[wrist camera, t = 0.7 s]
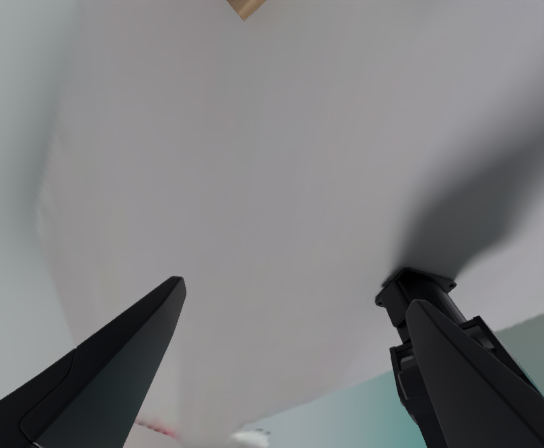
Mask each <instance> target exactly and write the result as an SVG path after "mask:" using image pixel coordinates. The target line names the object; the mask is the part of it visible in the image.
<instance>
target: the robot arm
mask: <svg viewBox="0 0 544 448" xmlns="http://www.w3.org/2000/svg"><path fill="white" fill-rule="evenodd" d="M456 285H457V284H456V283H455V282H454V281H453V280H450V279H447V278H443V277H440V276H436V275H432V274H429V273H425V272H422V271H418V270H415V269H411V268H404V269H402V270H401V272H400V273H399V274H398V275H397V276H396V277H395V278H394V279H393V281H392V282H391V283H390V284H389V285H388V286H387V287H386V288H385V290H384V291H383V292H382V293H381V294H380V295H379V296H378V297H377V299H376V300H375V303H376V305H377V306H380V307H384V308H386V310H387V312H388V315H389V317H390V319H391V322H392V324H393V326H394V327H396V328H397V331H398V333H399V335H400V338H401V340H402V343H403V344H402V345H400V346H397V347H395V346H394V347H391V348H390V354H391V361H392V366H393V371H394V376H395V381H396V386H397V391H398V395H399V397H400V401H401V403H402V405H403V406H404V407H405V408H406V410H407V411H408V413H409V415H410V416H411V418H412V419H413V420H414V422H415V423H416V424H417V425H418V426H419V428H420V431H421V433H422V435H423V438H424V440H425V443H426V446H427V448H544V395H543V394H542V392H541V391H540V390H539V388H538V387H537V386H536V384H535V383H534V382H533V380H532V379H531V378H530V376H529V375H528V374H527V372H526V371H525V370H524V369H523V367H522V366H521V364H520V363H519V362H518V361H517V359H516V358H515V357H514V356H513V354H512V353H511V352H510V351H509V349H508V348H507V347H506V346H505V345H504V343H503V342H502V341H501V340H500V338H499V337H498V336H497V335H496V334H495V333H494V332H493V330H492V329H491V328H490V327H489V326H488V325H487V324H486V322H485V321H484V320H483V319H482V318H481V317H480V316H476V317H473V319H471V320H469V321H467V320H466V319H465V317H464V316H463V315H462V313H461V312H460V310H459V309H458V308H457V306H456V305H455V304H454V302H453V301H452V299H451V298H450V297H449V295H448V293H449V292H450V291H451V290H452V289H454V288H455V287H456ZM185 297H186V287H185V282H184V279H183V277H179V276H172V277H170V278H169V279H167V280H166V281H165V282H163V283H162V284H161V285H159V286H158V287H156V288H155V289H154V290H152V291H151V292H150V293H148V294H147V295H146V296H144V297H143V298H142V299H140V300H139V301H138V302H136V303H135V304H134V305H132V306H131V307H130V308H128V309H127V310H125V311H124V312H123V313H121V314H120V315H119V316H117V317H116V318H115V319H113V320H112V321H111V322H109V323H108V324H107V325H105V326H104V327H103V328H101V329H100V330H99V331H97V332H96V333H94V334H93V335H92V336H90V337H89V338H88V339H86V340H85V341H84V342H82V343H81V344H80V345H78V346H77V348H76V349H73V350H71V351H70V352H69V353H67V354H66V355H65V356H63V357H62V358H61V359H59V360H58V361H56V362H55V363H54V364H52V365H51V366H50V367H48V368H47V369H45V370H44V371H43V372H41V373H40V374H38V375H37V376H35V377H34V378H32V379H31V380H30V381H28V382H27V383H25V384H24V385H22V386H21V387H19V388H18V389H16V390H15V391H13V392H12V393H10V394H9V395H7V396H6V397H4V398H3V399H1V400H0V448H123V446H124V443H125V441H126V438H127V437H128V434H129V432H130V430H131V428H132V425H133V423H134V421H135V419H136V417H137V414H138V412H139V410H140V408H141V405H142V403H143V401H144V399H145V396H146V394H147V392H148V390H149V387H150V385H151V383H152V381H153V379H154V376H155V374H156V372H157V370H158V367H159V365H160V363H161V361H162V358H163V356H164V354H165V352H166V350H167V347H168V345H169V343H170V341H171V338H172V336H173V333H174V331H175V328H176V325H177V322H178V319H179V316H180V313H181V309H182V306H183V303H184V300H185Z"/></svg>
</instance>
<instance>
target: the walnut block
mask: <svg viewBox="0 0 544 448" xmlns="http://www.w3.org/2000/svg"><path fill="white" fill-rule="evenodd" d="M227 1H228V2H229V4H230V5H231V6H232V7H233V8H234V10H235V11H236V12H237V13H238V15H239V16H240V17H241V18H242V19H243V21H244V20H245V19H247V18H248V17H249V16H250V15H251V14H252V13H253V12H254V11H255V10H256V9H257V8H258V7H260V6H261V5H262V4H263V3H264V2H265V1H266V0H227Z"/></svg>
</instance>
